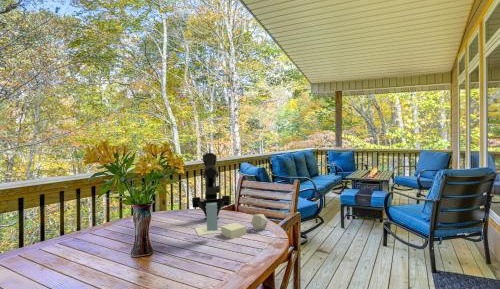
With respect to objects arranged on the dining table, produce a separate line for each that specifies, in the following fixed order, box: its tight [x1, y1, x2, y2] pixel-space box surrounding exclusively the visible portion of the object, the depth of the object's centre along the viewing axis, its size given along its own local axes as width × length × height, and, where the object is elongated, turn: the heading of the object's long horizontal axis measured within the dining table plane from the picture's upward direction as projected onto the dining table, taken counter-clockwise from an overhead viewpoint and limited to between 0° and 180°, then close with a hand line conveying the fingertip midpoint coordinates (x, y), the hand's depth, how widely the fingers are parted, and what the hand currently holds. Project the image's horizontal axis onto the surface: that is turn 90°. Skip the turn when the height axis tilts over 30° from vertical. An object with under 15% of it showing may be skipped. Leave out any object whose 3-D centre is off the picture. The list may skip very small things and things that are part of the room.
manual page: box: [194, 226, 217, 236], centre depth 156 cm, size 12×9×1 cm
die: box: [250, 213, 269, 231], centre depth 156 cm, size 8×9×10 cm
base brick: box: [220, 222, 247, 240], centre depth 149 cm, size 9×9×4 cm
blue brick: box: [206, 203, 218, 231], centre depth 142 cm, size 4×5×12 cm
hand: (211, 216), depth 141 cm, fingers closed on blue brick, 5 cm apart
